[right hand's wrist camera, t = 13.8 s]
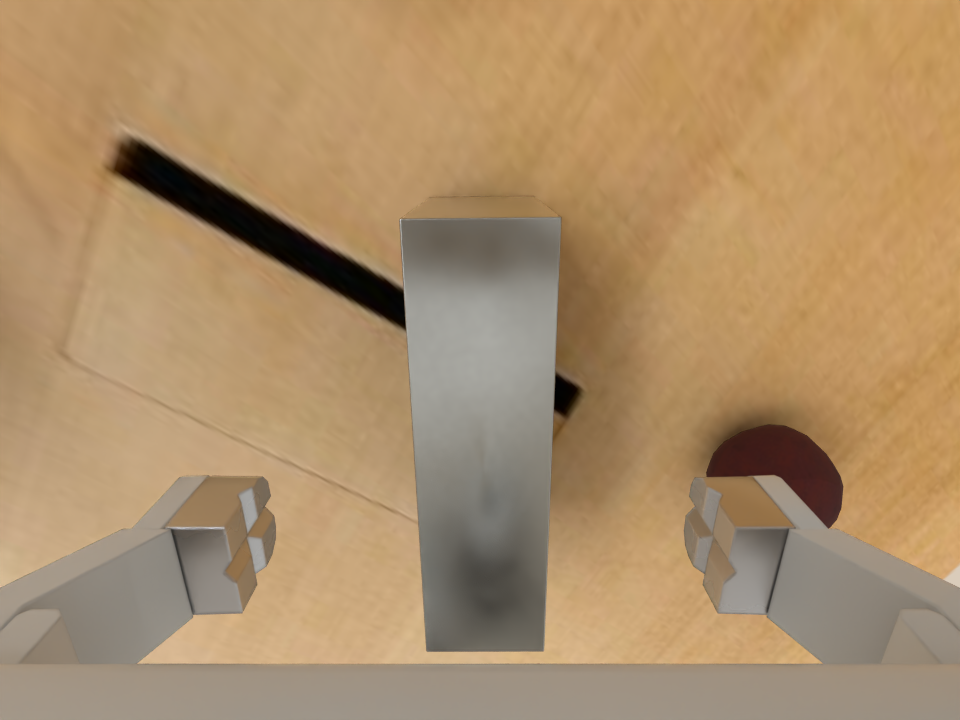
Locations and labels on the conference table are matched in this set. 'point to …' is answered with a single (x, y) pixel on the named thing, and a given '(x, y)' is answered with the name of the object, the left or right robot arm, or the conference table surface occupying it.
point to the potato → (783, 466)
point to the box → (482, 413)
